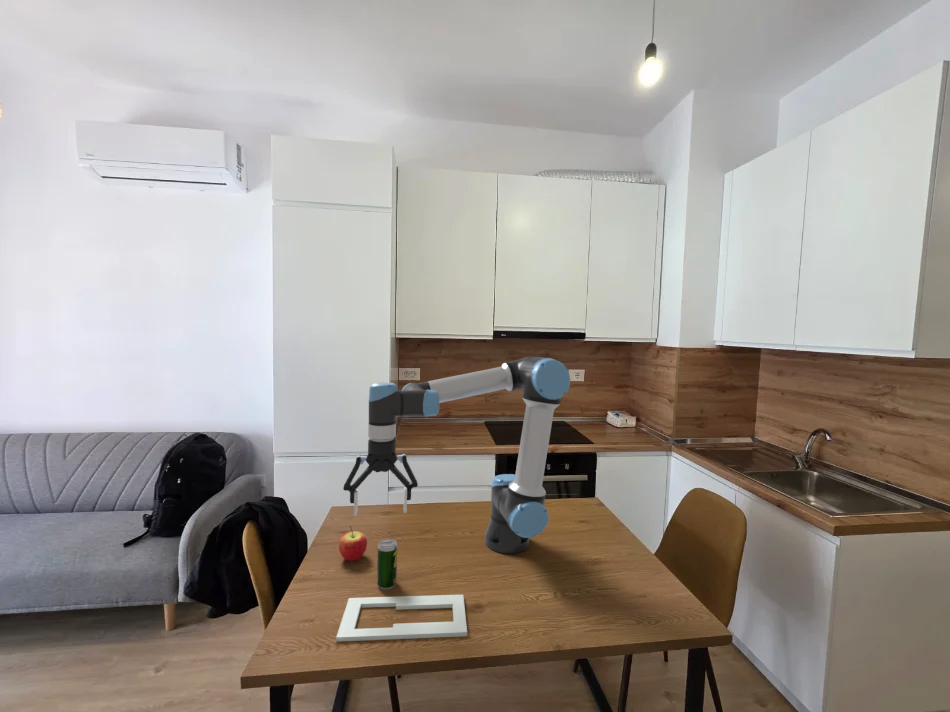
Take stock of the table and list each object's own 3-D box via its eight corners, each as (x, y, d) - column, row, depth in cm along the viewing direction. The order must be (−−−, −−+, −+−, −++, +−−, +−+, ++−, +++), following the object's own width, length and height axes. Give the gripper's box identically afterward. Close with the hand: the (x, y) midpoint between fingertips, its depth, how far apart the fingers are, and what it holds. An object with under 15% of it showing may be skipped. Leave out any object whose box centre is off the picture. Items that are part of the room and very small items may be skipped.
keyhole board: (463, 598, 111) (463, 594, 111) (467, 636, 97) (467, 632, 97) (348, 601, 108) (348, 598, 108) (336, 641, 94) (336, 637, 94)
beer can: (376, 591, 113) (377, 548, 112) (377, 579, 118) (377, 539, 117) (397, 589, 114) (397, 547, 113) (396, 578, 119) (397, 537, 118)
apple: (355, 548, 134) (355, 518, 134) (372, 557, 129) (373, 526, 129) (333, 559, 128) (333, 527, 127) (350, 569, 123) (351, 536, 122)
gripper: (425, 434, 121) (423, 504, 123) (337, 435, 116) (336, 509, 117) (428, 440, 114) (426, 515, 115) (333, 442, 109) (332, 521, 110)
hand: (380, 512), depth 116 cm, fingers open, 13 cm apart
